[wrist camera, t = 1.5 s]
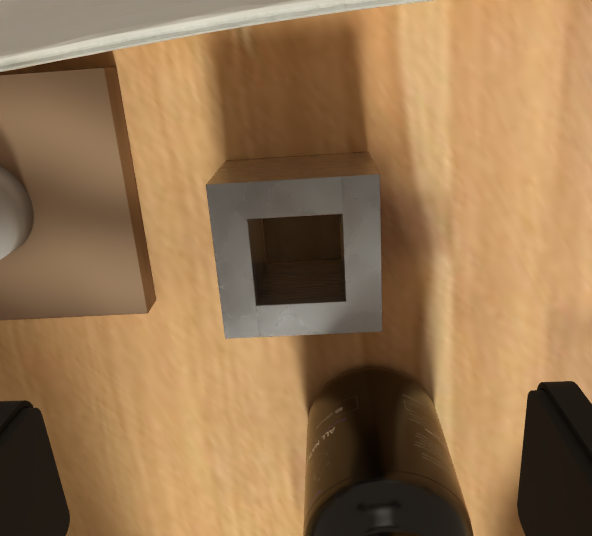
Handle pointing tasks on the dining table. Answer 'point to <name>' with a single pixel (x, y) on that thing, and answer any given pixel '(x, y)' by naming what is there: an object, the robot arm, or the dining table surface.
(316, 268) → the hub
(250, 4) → the square plate
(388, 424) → the supplement bottle
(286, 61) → the dining table surface
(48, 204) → the shaft block
